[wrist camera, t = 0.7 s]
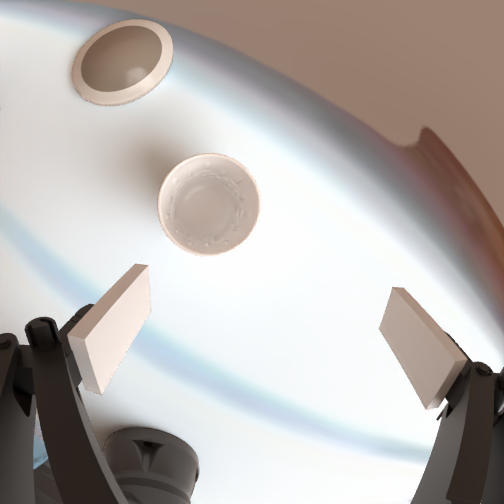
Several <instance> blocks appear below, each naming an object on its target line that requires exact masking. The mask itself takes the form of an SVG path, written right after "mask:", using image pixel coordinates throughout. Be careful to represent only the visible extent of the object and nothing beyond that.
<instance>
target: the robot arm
mask: <svg viewBox="0 0 504 504" xmlns="http://www.w3.org/2000/svg"><path fill="white" fill-rule="evenodd" d="M150 312H151V300H150V285H149V266H148V265H142V264H134V265H133V266H132V267H131V268H130V269H129V270H128V271H127V272H126V273H125V274H124V275H123V276H122V277H121V278H120V279H119V280H118V281H117V282H116V283H115V284H114V285H113V286H112V287H111V288H110V289H109V290H108V291H107V292H106V293H105V294H104V295H103V297H102V298H101V299H100V300H99V301H98V302H97V303H96V304H95V305H94V304H88V305H86V306H84V307H82V308H80V309H79V310H78V312H77V313H76V314H75V316H73V317H72V318H71V319H70V321H68V322H67V323H66V324H65V325H64V326H63V327H62V328H61V329H60V330H59V331H58V328H57V324H56V322H55V320H53V319H52V318H49V317H39V318H35V319H33V320H31V321H30V322H29V323H28V324H27V325H26V326H25V329H24V330H25V333H26V336H27V339H28V341H29V344H30V345H19V342H18V340H17V337H16V336H15V335H14V334H12V333H3V334H0V504H191V503H190V498H191V496H192V493H193V490H194V487H195V483H196V481H197V479H198V477H199V461H198V457H197V455H196V453H195V451H194V450H193V449H192V448H191V447H190V446H189V445H188V444H187V443H185V442H184V441H182V440H181V439H179V438H177V437H175V436H173V435H170V434H168V433H165V432H162V431H158V430H153V429H147V428H128V429H123V430H119V431H117V432H115V433H113V434H112V435H110V436H109V437H108V439H107V440H106V442H105V446H104V450H103V453H102V450H101V448H100V446H99V443H98V441H97V439H96V436H95V434H94V431H93V429H92V426H91V423H90V421H89V418H88V415H87V412H86V409H85V406H84V403H83V400H82V397H81V394H80V391H79V389H78V385H79V384H80V382H81V381H82V382H83V384H84V387H85V389H86V390H87V391H90V392H93V393H96V394H100V395H102V394H103V392H104V391H105V389H106V387H107V385H108V383H109V382H110V380H111V378H112V376H113V375H114V373H115V371H116V369H117V368H118V366H119V364H120V362H121V361H122V359H123V357H124V355H125V354H126V352H127V350H128V349H129V347H130V345H131V344H132V342H133V340H134V339H135V337H136V335H137V334H138V332H139V330H140V329H141V327H142V325H143V324H144V322H145V320H146V319H147V317H148V316H149V314H150ZM379 330H380V331H381V333H382V335H383V336H384V338H385V339H386V341H387V343H388V344H389V346H390V348H391V349H392V351H393V353H394V354H395V356H396V358H397V359H398V361H399V363H400V365H401V366H402V368H403V370H404V371H405V373H406V375H407V377H408V378H409V380H410V382H411V384H412V385H413V387H414V389H415V391H416V393H417V394H418V396H419V398H420V400H421V402H422V404H423V406H424V407H425V409H426V410H428V409H433V408H437V407H439V406H440V404H441V403H442V401H443V400H444V398H446V399H447V401H448V403H447V405H446V406H445V408H444V409H443V410H442V412H441V413H440V415H439V416H438V417H437V419H436V420H439V419H440V417H442V419H441V423H440V427H439V430H438V433H437V437H436V440H435V443H434V446H433V449H432V452H431V455H430V458H429V461H428V464H427V466H426V469H425V471H424V474H423V477H422V479H421V481H420V484H419V486H418V488H417V491H416V493H415V495H414V497H413V499H412V502H411V504H480V503H481V504H504V413H503V414H502V415H501V413H500V410H501V409H502V408H503V406H504V367H503V369H502V371H501V372H500V373H493V371H492V369H491V368H490V367H489V366H488V365H486V364H484V363H482V362H474V363H473V362H472V360H471V359H470V358H469V357H468V356H467V354H466V353H465V352H464V351H463V350H462V349H461V347H460V348H459V345H458V344H457V343H455V340H454V339H453V338H452V337H451V336H450V335H449V334H448V333H446V332H445V331H443V330H442V329H441V327H440V326H439V325H438V324H437V323H436V322H435V321H434V320H433V318H432V317H431V316H430V315H429V314H428V313H427V312H426V311H425V310H424V309H423V308H422V307H421V306H420V304H419V303H418V302H417V301H416V300H415V299H414V298H413V297H412V296H411V295H410V294H409V293H408V292H407V291H406V290H405V289H404V288H398V287H392V291H391V294H390V297H389V300H388V304H387V307H386V310H385V313H384V316H383V319H382V322H381V325H380V327H379ZM36 407H37V410H38V416H39V421H40V426H41V431H42V435H43V440H44V441H43V440H42V439H41V438H39V437H38V436H37V435H35V434H34V429H35V416H36Z"/></svg>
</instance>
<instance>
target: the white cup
mask: <svg viewBox="0 0 504 504" xmlns="http://www.w3.org/2000/svg"><path fill="white" fill-rule="evenodd" d="M157 209H158V216H159V220H160V223H161V226H162V228H163V230H164V232H165V233H166V235H167V236H168V237H169V239H170V240H171V241H172V242H173V243H174V244H175V245H176V246H178V247H179V248H181V249H182V250H184V251H186V252H188V253H191V254H193V255H197V256H203V257H214V256H220V255H224V254H227V253H229V252H232V251H234V250H235V249H237V248H238V247H240V246H241V245H242V244H244V243H245V242H246V241H247V240H248V238H249V237H250V236H251V235H252V233H253V231H254V230H255V228H256V226H257V223H258V221H259V217H260V212H261V197H260V192H259V188H258V186H257V183H256V181H255V179H254V178H253V176H252V175H251V173H250V172H249V171H248V170H247V169H246V168H245V167H244V166H243V165H242V164H241V163H239V162H238V161H236V160H234V159H233V158H230V157H228V156H225V155H221V154H215V153H204V154H198V155H194V156H191V157H189V158H187V159H185V160H183V161H181V162H180V163H179V164H177V165H176V166H175V167H174V168H173V169H172V170H171V171H170V172H169V173H168V175H167V176H166V178H165V179H164V181H163V183H162V185H161V188H160V191H159V195H158V202H157Z"/></svg>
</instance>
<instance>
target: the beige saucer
mask: <svg viewBox="0 0 504 504" xmlns="http://www.w3.org/2000/svg"><path fill="white" fill-rule="evenodd" d="M172 61H173V43H172V39H171V37H170V35H169V33H168V32H167V31H166V30H165V29H164V28H163V27H162V26H160V25H159V24H157V23H155V22H152V21H148V20H140V19H135V20H126V21H121V22H118V23H115V24H112V25H110V26H108V27H106V28H104V29H102V30H101V31H99V32H98V33H96V34H95V35H94V36H92V37H91V38H90V39H89V40H88V41H87V42H86V43H85V44H84V45H83V47H82V48H81V49H80V51H79V52H78V54H77V56H76V58H75V61H74V64H73V68H72V80H73V84H74V86H75V88H76V89H77V91H78V92H79V93H80V94H81V95H82V96H83V97H84V98H85V99H86V100H87V101H89V102H91V103H93V104H96V105H100V106H119V105H123V104H127V103H130V102H133V101H135V100H137V99H139V98H141V97H143V96H145V95H146V94H148V93H149V92H150V91H152V90H153V89H154V88H155V87H157V86H158V85H159V84H160V82H161V81H162V80H163V79H164V78H165V76H166V75H167V73H168V71H169V69H170V67H171V65H172Z"/></svg>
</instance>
